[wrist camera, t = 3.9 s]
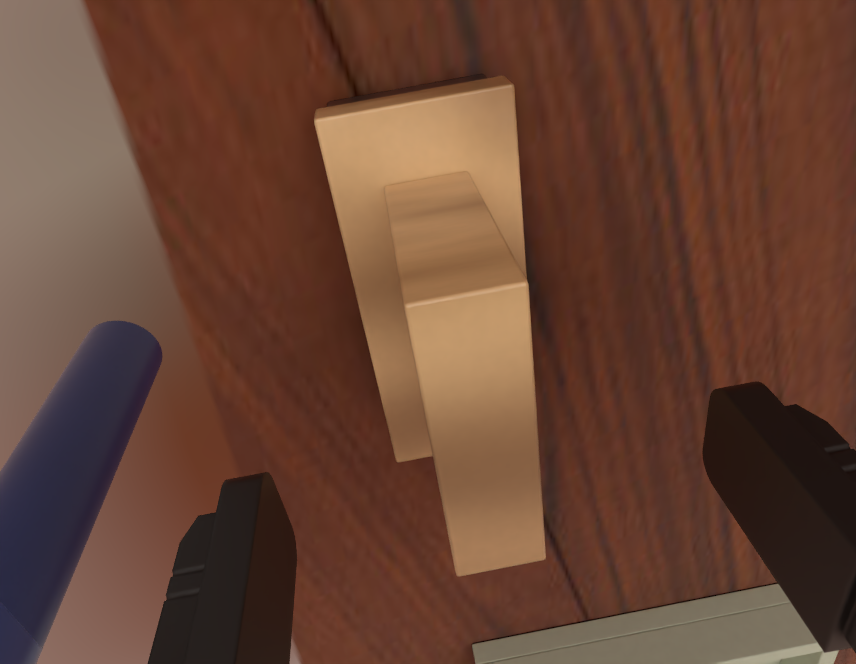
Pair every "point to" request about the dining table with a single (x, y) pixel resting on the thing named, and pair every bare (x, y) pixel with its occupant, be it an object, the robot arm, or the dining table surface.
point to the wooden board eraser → (446, 297)
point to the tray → (674, 636)
